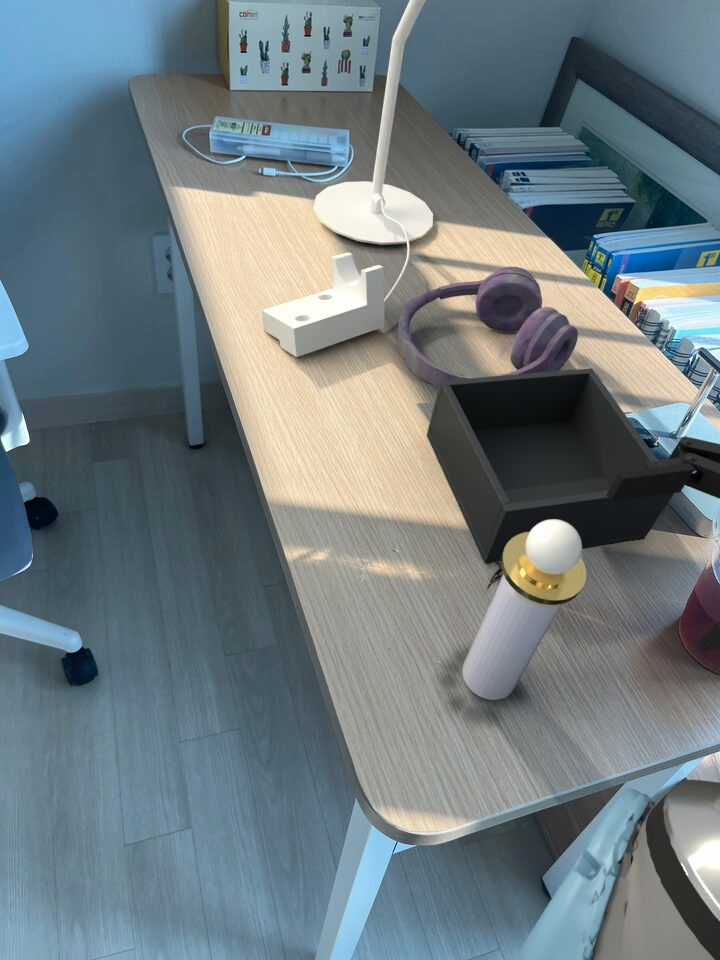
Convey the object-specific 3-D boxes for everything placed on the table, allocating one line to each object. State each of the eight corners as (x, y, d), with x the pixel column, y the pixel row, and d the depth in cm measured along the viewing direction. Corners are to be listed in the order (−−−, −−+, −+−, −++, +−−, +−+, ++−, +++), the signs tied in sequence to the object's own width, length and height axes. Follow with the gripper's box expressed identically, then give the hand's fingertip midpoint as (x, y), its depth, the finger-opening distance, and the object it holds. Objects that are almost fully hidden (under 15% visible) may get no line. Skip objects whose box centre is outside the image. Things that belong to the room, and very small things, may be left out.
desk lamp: (301, 183, 118) (327, -199, 85) (410, 183, 123) (475, -180, 90) (356, 327, 94) (422, -126, 61) (490, 321, 99) (617, -104, 66)
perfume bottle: (533, 700, 62) (623, 554, 48) (471, 719, 61) (545, 574, 46) (501, 641, 66) (577, 488, 51) (442, 657, 64) (502, 504, 49)
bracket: (350, 309, 98) (348, 252, 94) (384, 326, 94) (383, 266, 89) (264, 337, 92) (257, 277, 88) (296, 357, 87) (290, 294, 83)
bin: (644, 539, 76) (677, 488, 70) (484, 564, 71) (506, 511, 66) (569, 420, 87) (592, 367, 81) (426, 435, 83) (440, 380, 77)
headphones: (517, 298, 102) (378, 332, 98) (526, 244, 96) (377, 278, 92) (586, 385, 91) (431, 427, 87) (601, 331, 84) (435, 374, 81)
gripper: (972, 681, 55) (731, 740, 50) (768, 442, 71) (568, 467, 66) (1053, 627, 50) (791, 687, 44) (813, 381, 66) (598, 403, 60)
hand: (657, 556), depth 55 cm, fingers open, 13 cm apart
